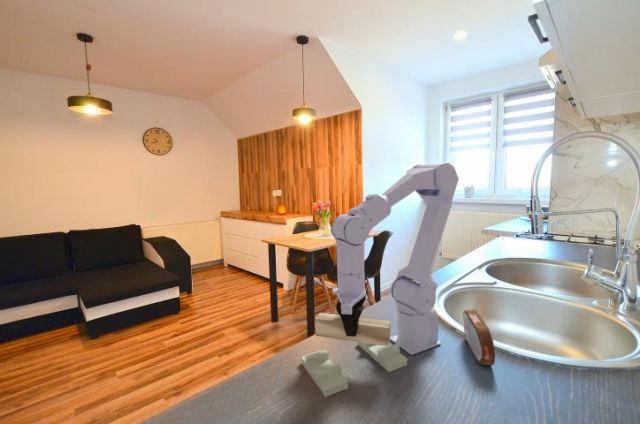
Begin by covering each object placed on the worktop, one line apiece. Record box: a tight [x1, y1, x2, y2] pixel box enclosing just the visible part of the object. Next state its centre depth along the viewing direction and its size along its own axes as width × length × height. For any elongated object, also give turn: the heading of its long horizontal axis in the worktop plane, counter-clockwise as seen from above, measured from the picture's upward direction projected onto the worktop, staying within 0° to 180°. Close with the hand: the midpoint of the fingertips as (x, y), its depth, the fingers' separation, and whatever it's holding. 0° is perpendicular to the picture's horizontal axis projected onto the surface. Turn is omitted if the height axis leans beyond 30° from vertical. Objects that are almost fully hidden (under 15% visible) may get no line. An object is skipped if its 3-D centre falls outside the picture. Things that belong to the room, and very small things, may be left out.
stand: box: [300, 342, 408, 398], centre depth 67 cm, size 20×12×3 cm, turn 116°
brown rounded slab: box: [462, 309, 496, 366], centre depth 69 cm, size 15×3×8 cm, turn 168°
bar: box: [314, 312, 391, 346], centre depth 66 cm, size 3×16×4 cm, turn 71°
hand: (352, 330), depth 66 cm, fingers closed on bar, 3 cm apart
